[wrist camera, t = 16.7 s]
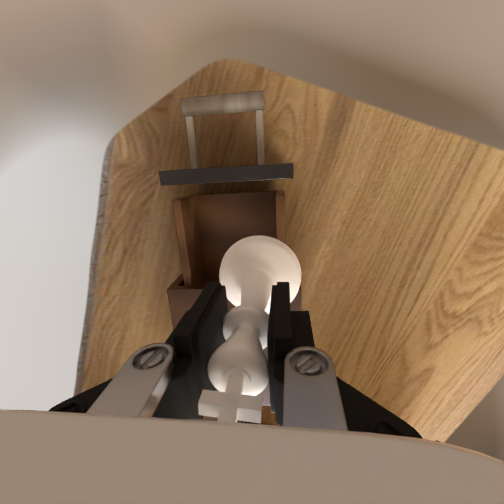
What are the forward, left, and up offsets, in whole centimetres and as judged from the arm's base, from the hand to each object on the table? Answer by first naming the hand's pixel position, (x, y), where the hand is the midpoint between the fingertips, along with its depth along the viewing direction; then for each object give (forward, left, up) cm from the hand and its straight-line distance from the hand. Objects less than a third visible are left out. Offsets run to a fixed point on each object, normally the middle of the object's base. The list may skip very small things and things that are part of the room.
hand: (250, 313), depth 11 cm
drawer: (-4, -1, -18) cm, 18 cm away
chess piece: (0, 0, -5) cm, 5 cm away
